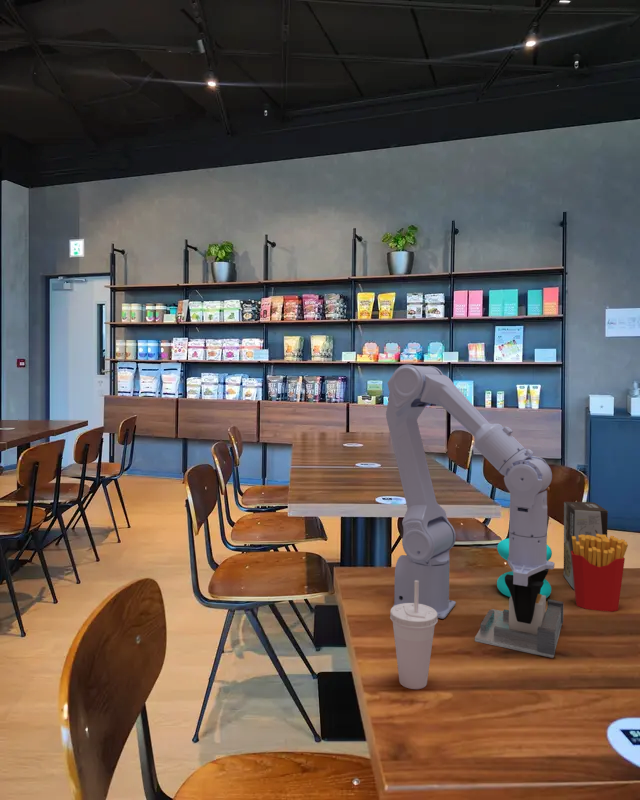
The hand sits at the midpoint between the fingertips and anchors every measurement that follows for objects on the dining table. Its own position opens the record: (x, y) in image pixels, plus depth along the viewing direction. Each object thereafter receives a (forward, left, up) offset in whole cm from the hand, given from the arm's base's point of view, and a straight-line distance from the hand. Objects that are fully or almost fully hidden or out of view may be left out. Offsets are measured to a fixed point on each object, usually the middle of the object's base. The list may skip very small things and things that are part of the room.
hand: (526, 616), depth 91 cm
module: (0, 0, -2) cm, 2 cm away
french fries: (+10, +19, -3) cm, 22 cm away
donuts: (-3, +19, -3) cm, 20 cm away
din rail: (-1, 0, -3) cm, 3 cm away
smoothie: (-11, -23, -3) cm, 26 cm away
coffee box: (+7, +31, -3) cm, 32 cm away
